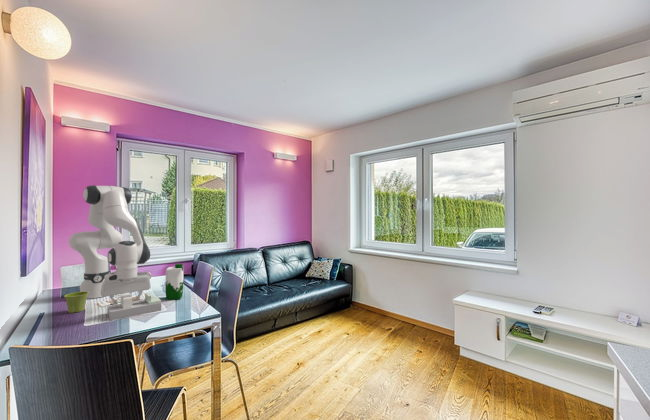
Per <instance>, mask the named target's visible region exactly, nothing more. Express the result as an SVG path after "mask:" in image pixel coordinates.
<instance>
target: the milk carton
mask: <svg viewBox="0 0 650 420" xmlns="http://www.w3.org/2000/svg"><path fill="white" fill-rule="evenodd" d="M164 290H165V299H166V300H165V301H180V300H181V299H182V297H183V293H184V266H183V263H175V264H174V266H169V267H167V268H166V269H165V289H164Z"/></svg>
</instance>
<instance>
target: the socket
mask: <svg viewBox="0 0 650 420" xmlns="http://www.w3.org/2000/svg"><path fill="white" fill-rule="evenodd" d="M106 307H107V309H106V310H107V311H106V312H107V317H108V319H109V321H110V322H111V321H117V320H121V319H125V318H132V317H135V316H140V315H146V314H150V313H155V312H159V311H160V312H161V311H162V301H161V302H159V303H153V304H148V303H147V302H146V301H145V299H140V300H138V301H133V302H132V307H130V308H125V309H123V307H122V306H121V303H118V304H112V305H110V304H109V305H107V306H106Z"/></svg>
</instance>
